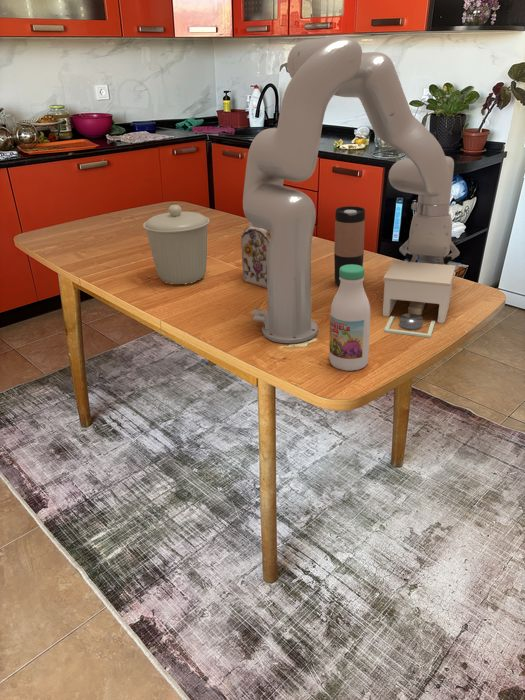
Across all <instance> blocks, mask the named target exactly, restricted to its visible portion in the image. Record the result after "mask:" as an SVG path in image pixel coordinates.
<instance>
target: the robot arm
mask: <svg viewBox="0 0 525 700" xmlns="http://www.w3.org/2000/svg"><path fill="white" fill-rule="evenodd" d="M286 65H287V66H286V67H287V70H288V71H287V72H288V74H289V77H290V78H291V79H290V81H289V83H288V84H287V86H286V88H285V91H284V94H283V97H282V101H281V105H280V110H279V111H280V112H279V115H278V122H277V127H272V128H266V129H265V128H264V129H263V130H261V131H260V132H259V133H258V134H256V135H255V136H254V138H253V140H252V142H251V144H250V146H249V149H248V152H247V158H246V166H245V176H244V185H243V193H242V194H243V195H242V196H243V197H242V209H243V213H244V216H245V219H247V221H248V222H249V224H250V223H251V224H253V225H255V226H257V227H259V228H262V229H265V230H267V231H269V232H271V238H270V242H269V244H268V247H267V252H266V267H267V288H266V289H267V308H268V309H266V310H264V309H263V310H262V309H258V308H253V310H252V312H251V313H252V317H253V319H252V321H253V322H258V323H259V322H261V323H263V325H262V326H261V331H262V333H261V334H263V337H264V338H266V339H267V340H269V341H272V342H274V343H275V342H276V343H281V344H296V343H303V342H306V341H309V340H312V339H313V338H315V337H316V336H317V334H318V333H319V325H318V324H317V322H316V321H314V320H313V319H312V243H313V242H312V241H313V234H314V230H315V226H316V225H315V224H316V223H315V222H316V217H317V212H316V211H317V210H316V207H315V203H314V202H313V200H312V199H311V197H310V196H308V195H307V194H306V193H304V192H303V191H301V190H299V189H296V188H291V187H289V186H284V180H285V181H288V182H297V183H299V182H300V183H301V182H305V181H307V180H308V179H310V178H311V177H312V175H313V174H314V172H315V170H316V168H317V167H316V166H317V161H318V156H319V155H318V154H319V151H320V150H319V149H320V143H321V142H320V141H321V136H322V129H323V124H324V123H323V122H324V119H325V114H326V111H327V107H328V105H329V103H330V101H331V99H332V98H333V97H334V96H336V97H341V98H342V97H343V98H358V99H359V100H360V103H361V105H362V107H363V109H364V112H365V113H366V116H367V118H368V121H369V123H370V126H371V128H372V130H373V133H374V134H375V136H376V137H377V138H378V139H380V140H381V141H382V142H383V143H385V144H386V145H388V146H390V147H392V148H394V149H396V150H398V151H399V152H400V153H402V154H403V155H405V156H406V157H407V158H402V159H400V160H398V161H396V162H395V163H393V164H392V166H391V168H390V169H389V172H388V180H389V184H390V185H391V187H392V188H394V190H395V189H396V190H397V191H399V192H402V193H409V194H412V195H413V194H414V195H418V197H417V202H415V203H411V206H410V208H411V210H415V211H416V212H414V214H413V216H412V219H411V222H410V223H411V224H410V227H409V228H410V229H409V235H408V236H409V237H408V239H407V240H406V241H405V242H404V244H402V245H401V246H400V247H399V248H398V249H399V251H398V252H400V253H401V254H402V255H403V256H404V258H406V260H407V261H408V262H418V263H419V260H418V258H419V255H423V256H436V257H438V258H437V261H438V264H443V265H448V263H450V262H451V261H453V260H454V259H455V258H457V257H458V256H460V251H459V249H458V247H456V245H455V244H454V242H453V241H452V235H453V232H452V231H453V225H452V223H453V221H452V215H451V214H450V204H451V195H452V188H453V187H452V186H453V177H454V170H455V169H454V168H455V161H454V159H453V158H452V157H451V156H447V155H446V154H445V152H444V149H443V148H442V146H441V144H440V142H439V141H438V140H437V138H436V137H435V136H434V135H433V133H432V132H430V131H429V130H428V129H427V128H426V126H425V125H423V123H421V121H419V120H418V119H417V118H416V116H414V115H413V113H412V111H411V107H410V105H409V103H408V100H407V97H406V94H405V92H404V89H403V87H402V84H401V81H400V79H399V75H398V73H397V70H396V68H395V65H394V62H393V61H392V59H391V58H390V56H388V54H385V53H382V52H378V51H377V52H375V51H372V52H371V51H369V52H366V51H365V52H363V49H362V46H361V45H360V43H359V42H358V41H357V40H355V39H353V38H351V37H347V36H328V37H321V38H313V39H312V38H309V39H304V40H301V41H299V42H298V43H296V44H295V45H294V46H293V47H292V48H291V50H290V51H289V53H288V56H287V62H286ZM450 251H451V253H450Z"/></svg>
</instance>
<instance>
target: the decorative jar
mask: <svg viewBox="0 0 525 700" xmlns="http://www.w3.org/2000/svg"><path fill="white" fill-rule="evenodd" d="M240 237H241V239H240V242H241V245H240V247H241V265H242V267H241V268H242V277H243V281H244V282H246V283H248V282H249V284H251V283H252V285H256V286H258V287H261V286H262V288H265V289H267V267H266V252H267V247H268V244H269V242H270V238H271V232H269V231H267V230H265V229H262V228H259V227H257V226H255V225H253V224H251V223H250V222H249V223H248V225H247V227H246V228H245V229H244V230H243V232H242V233H241V235H240Z"/></svg>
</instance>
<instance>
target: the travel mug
mask: <svg viewBox="0 0 525 700" xmlns="http://www.w3.org/2000/svg"><path fill="white" fill-rule="evenodd" d="M334 213H335V214H334V215H335V220H334V221H335V222H334V252H333V253H334V254H333V255H334V256H333V258H334V261H333V263H334V285H335V286H336V287H338V288H339V286H340V279H339V277H340V276H339V269H340V267H342V266H344V265H350V264H354V265H360V266H362V267H363V268H364V255H365V254H364V252H365V226H366V225H365V221H366V209H365V208H364V207H361V206H349V205H348V206H340V207H338V208H336V209H335V212H334Z"/></svg>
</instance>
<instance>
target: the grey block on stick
mask: <svg viewBox="0 0 525 700" xmlns="http://www.w3.org/2000/svg"><path fill="white" fill-rule="evenodd" d="M418 263H430V264H438V257H436V256H423V255H418ZM409 302H410V303H409V306H408V308H407V314H416V315H419V316H422V313H423V311H424V308H425V305H426V303H425V302H415V301H409Z"/></svg>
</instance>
